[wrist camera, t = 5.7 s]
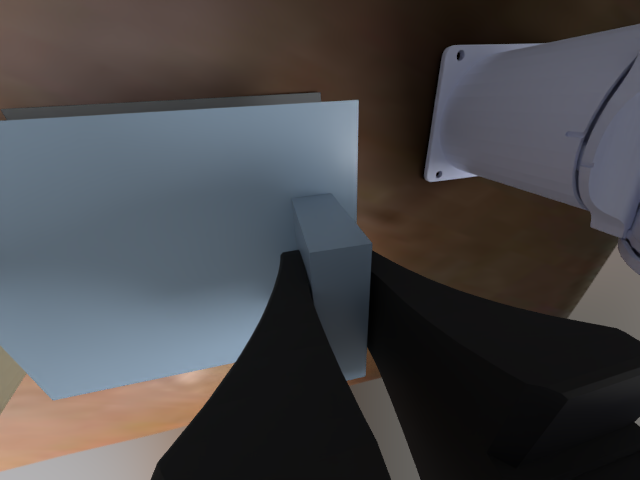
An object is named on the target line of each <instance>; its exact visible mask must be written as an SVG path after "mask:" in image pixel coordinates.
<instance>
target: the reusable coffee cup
mask: <svg viewBox="0 0 640 480" xmlns="http://www.w3.org/2000/svg"><path fill="white" fill-rule="evenodd" d="M26 374H27V373H26V372H25V371H24V370H23V369H22V368H21V367H20V366H19V365H18V364H17V363H16V361H15V360H14V359H13V358H12V357H11V356H10V355H9V354H8V353H7V352H6V351H5V350H4V349H3V348H2V347H1V346H0V414H1V413H2V411H3V409H4V408H5V406H6V405H7V403H8V402H9V400H10V399H11V397H12V395H13V394H14V392H15V391H16V389H17V388H18V386H19V385H20V383H21V381H22V380H23V378H24V377H25V375H26Z"/></svg>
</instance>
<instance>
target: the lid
mask: <svg viewBox="0 0 640 480" xmlns="http://www.w3.org/2000/svg"><path fill="white" fill-rule="evenodd" d="M358 105H359V100H349V101H332V102H315V103H298V104H280V105H263V106H246V107H229V108H212V109H195V110H178V111H161V112H144V113H127V114H110V115H93V116H75V117H58V118H41V119H24V120H7V121H0V346H1V347H2V348H3V349H4V350H5V351H6V352H7V353H8V354H9V355H10V356H11V357H12V358H13V359H14V360H15V361H16V363H17V364H18V365H19V366H20V367H21V368H22V369H23V370H24V371H25V372H26V373H27V374H28V375H29V376H30V377H31V378H32V379H33V380H34V381H35V382H36V383H37V384H38V385H39V386H40V388H41V389H42V390H43V391H44V392H45V393H46V394H47V395H48V396H49V397H50V398H51V399H52V400H57V399H62V398H67V397H72V396H76V395H81V394H86V393H91V392H96V391H100V390H105V389H110V388H115V387H120V386H124V385H129V384H134V383H139V382H144V381H148V380H153V379H158V378H163V377H168V376H172V375H177V374H182V373H187V372H192V371H196V370H201V369H206V368H211V367H215V366H220V365H225V364H230V363H235V362H236V360H237V359H238V357H239V356H240V354H241V353H242V351H243V349H244V348H245V346H246V344H247V342H248V341H249V339H250V337H251V336H252V334H253V332H254V330H255V328H256V327H257V325H258V323H259V321H260V319H261V317H262V315H263V313H264V310H265V308H266V306H267V303H268V301H269V298H270V296H271V293H272V291H273V288H274V285H275V282H276V278H277V275H278V271H279V266H280V255H281V254H282V253H283V252H288V251H294V250H299V251H300V253H301V256H302V259H303V262H304V265H305V268H306V273H307V278H308V284H309V289H310V294H311V297H312V301H313V304H314V306H315V309H316V312H317V314H318V317H319V319H320V322H321V324H322V327H323V329H324V332H325V334H326V337H327V339H328V342H329V344H330V346H331V348H332V351H333V353H334V355H335V357H336V360H337V362H338V364H339V366H340V368H341V371H342V373H343V375H344V377H345V379H346V381H347V380H351V379H356V378H360V377H364V376H365V374H366V354H367V335H368V316H369V296H370V277H371V258H372V242H371V241H370V240H369V239H368V238H367V236H366V235H365V234H364V233H363V231H362V230H361V229H360V228H359V227H358V225H357V224H356V222H357V163H358Z"/></svg>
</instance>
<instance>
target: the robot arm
mask: <svg viewBox="0 0 640 480" xmlns="http://www.w3.org/2000/svg"><path fill="white" fill-rule="evenodd" d="M458 52H459V53H460V57H459V60H457V53H458ZM438 171H439V174H438V176H436V173H437V172H438ZM474 176H481V177H484V178H487V179H490V180H493V181H497V182H500V183H503V184H506V185H509V186H512V187H515V188H519V189H522V190H525V191H528V192H531V193H534V194H537V195H541V196H544V197H547V198H550V199H553V200H556V201H560V202H563V203H566V204H569V205H572V206H575V207H578V208H582V209H585V210H588V211H590V212H591V224H590V226H591V227H592V228H595V229H597V230H600V231H603V232H606V233H608V234H611V235H614V236H617V237H619V239H618V249H619V252H620V254H621V257H622V258H623V260H624V261H625V262H626V263H627V265H628V266H630V268H632V269H633V270H634V271H635V272H636V273H637V274H639V275H640V24H637V25H632V26H627V27H623V28H618V29H613V30H608V31H603V32H598V33H593V34H589V35H584V36H579V37H574V38H569V39H564V40H559V41H555V42H550V43H536V44H484V45H453V46H449V47H447V48H446V49H445V50H444V52H443V54H442V58H441V65H440V72H439V78H438V85H437V92H436V98H435V105H434V112H433V118H432V125H431V131H430V138H429V145H428V151H427V158H426V165H425V171H424V178H425V180H426V181H429V182H435V181H443V180H451V179H459V178H467V177H474ZM367 347H368V349H369V351H370V353H371V355H372V357H373V359H374V361H375V363H376V365H377V367H378V369H379V372H380V374H381V377H382V379H383V381H384V384H385V386H386V389H387V391H388V394H389V396H390V398H391V401H392V404H393V406H394V409H395V412H396V414H397V417H398V419H399V422H400V424H401V427H402V430H403V432H404V435H405V438H406V441H407V443H408V446H409V449H410V452H411V454H412V457H413V460H414V462H415V465H416V468H417V471H418V473H419V476H420V479H421V480H640V427H639V426H638V425H637V424H636V423H635V421H636V420H637V419H638V418H639V417H640V341H639V340H637V339H635V338H634V337H632V336H630V335H629V334H627V333H625V332H623V331H621V330H619V329H617V328H612V327H607V326H602V325H596V324H591V323H586V322H580V321H576V320H570V319H565V318H560V317H555V316H550V315H545V314H541V313H537V312H533V311H529V310H525V309H520V308H516V307H512V306H509V305H505V304H501V303H498V302H494V301H491V300H487V299H484V298H481V297H478V296H474V295H471V294H468V293H465V292H462V291H459V290H456V289H454V288H451V287H448V286H446V285H443V284H441V283H438V282H435V281H433V280H430V279H428V278H426V277H423V276H421V275H419V274H417V273H415V272H413V271H410V270H408V269H406V268H404V267H402V266H400V265H398V264H396V263H394V262H392V261H390V260H389V259H387V258H385V257H383V256H381V255H379V254H378V253H376V252H374V251H372V258H371V277H370V296H369V316H368V335H367ZM151 480H391V478H390V475H389V473H388V470H387V467H386V465H385V462H384V459H383V457H382V454H381V452H380V449H379V446H378V443H377V441H376V439H375V437H374V435H373V433H372V431H371V429H370V427H369V425H368V423H367V422H366V420H365V418H364V416H363V414H362V412H361V410H360V408H359V406H358V404H357V402H356V400H355V398H354V395H353V393H352V391H351V389H350V387H349V385H348V383H347V381H346V379H345V377H344V375H343V373H342V371H341V368H340V366H339V364H338V362H337V360H336V357H335V355H334V353H333V351H332V348H331V346H330V344H329V342H328V339H327V337H326V334H325V332H324V329H323V327H322V324H321V322H320V319H319V317H318V314H317V312H316V309H315V306H314V304H313V301H312V297H311V294H310V289H309V284H308V278H307V273H306V268H305V265H304V262H303V259H302V256H301V253H300V251H299V250H294V251H288V252H283V253H282V254H281V255H280V266H279V271H278V275H277V278H276V282H275V285H274V288H273V291H272V293H271V296H270V298H269V301H268V303H267V306H266V308H265V310H264V313H263V315H262V317H261V319H260V321H259V323H258V325H257V327H256V328H255V330H254V332H253V334H252V336H251V337H250V339H249V341H248V342H247V344H246V346H245V348H244V349H243V351H242V353H241V354H240V356H239V357H238V359H237V360H236V362H235V363H234V365H233V366H232V368H231V369H230V371H229V372H228V373H227V375H226V376H225V378H224V379H223V380H222V382H221V383H220V385H219V386H218V387H217V389H216V390H215V392H214V393H213V394H212V396H211V397H210V399H209V400H208V401H207V402H206V404H205V405H204V406H203V408H202V409H201V410H200V411H199V413H198V414H197V415H196V416H195V418H194V419H193V420H192V421H191V422H190V424H189V425H188V426H187V427H186V429H185V430H184V431H183V432H182V434H181V435H180V436H179V437H178V438H177V440H176V441H175V442H174V443H173V445H172V446H171V447H170V448H169V450H168V451H167V452H166V453H165V454H164V455H163V457H162V458H161V459H160V460H159V462H158V463H157V465H156V468H155V470H154V473H153V475H152V478H151Z"/></svg>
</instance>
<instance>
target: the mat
mask: <svg viewBox="0 0 640 480" xmlns="http://www.w3.org/2000/svg"><path fill="white" fill-rule="evenodd" d="M315 102H321V93H320V92H319V93H300V94H281V95H262V96H243V97H224V98H204V99H185V100H166V101H147V102H128V103H108V104H89V105H70V106H51V107H32V108H12V109H1V111H2V113H3V114H4V116H5V118H6V119H7V120H24V119H41V118H58V117H75V116H93V115H110V114H127V113H144V112H161V111H178V110H195V109H212V108H229V107H246V106H263V105H280V104H298V103H315Z"/></svg>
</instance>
